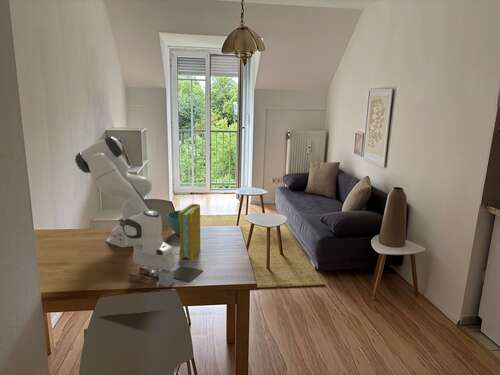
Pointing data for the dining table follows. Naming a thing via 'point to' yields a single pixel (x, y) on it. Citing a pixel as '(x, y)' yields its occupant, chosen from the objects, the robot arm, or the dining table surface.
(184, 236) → the book
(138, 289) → the dining table surface
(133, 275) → the shelf slot
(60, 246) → the dining table surface
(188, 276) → the mat
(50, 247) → the dining table surface
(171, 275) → the blank
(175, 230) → the plant pot
